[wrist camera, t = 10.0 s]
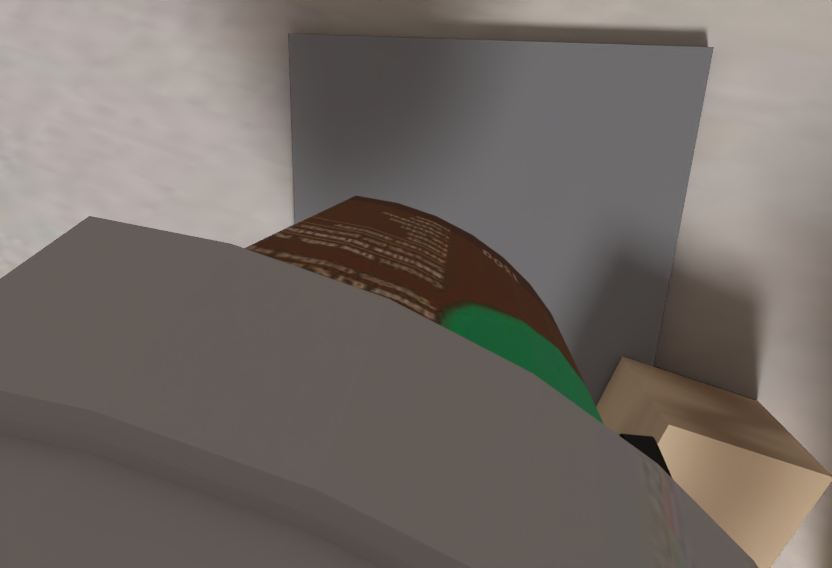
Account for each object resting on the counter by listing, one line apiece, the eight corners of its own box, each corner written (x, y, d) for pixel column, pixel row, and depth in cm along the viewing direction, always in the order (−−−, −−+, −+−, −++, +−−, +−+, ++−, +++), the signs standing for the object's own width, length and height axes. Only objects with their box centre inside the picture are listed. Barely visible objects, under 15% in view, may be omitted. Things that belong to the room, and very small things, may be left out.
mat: (708, 47, 17) (713, 46, 17) (622, 511, 22) (624, 518, 22) (292, 34, 18) (288, 33, 18) (306, 476, 24) (303, 483, 23)
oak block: (757, 401, 20) (834, 477, 17) (700, 493, 22) (758, 583, 18) (622, 356, 20) (668, 424, 16) (572, 453, 21) (604, 537, 17)
